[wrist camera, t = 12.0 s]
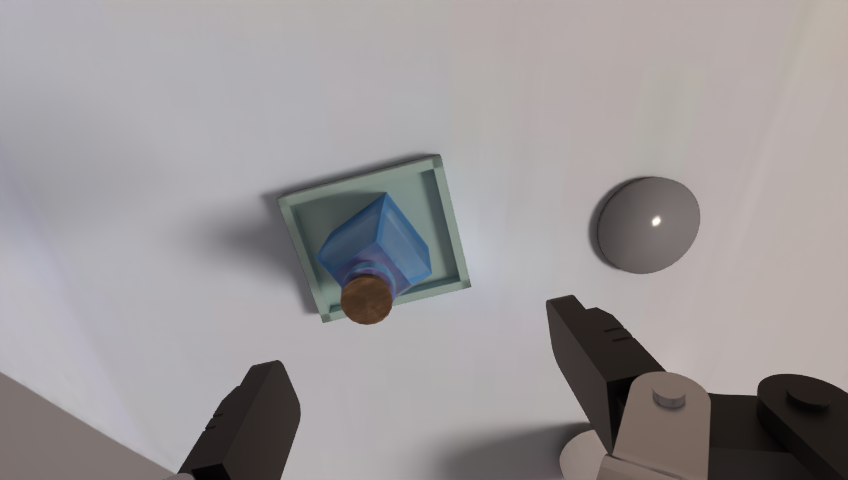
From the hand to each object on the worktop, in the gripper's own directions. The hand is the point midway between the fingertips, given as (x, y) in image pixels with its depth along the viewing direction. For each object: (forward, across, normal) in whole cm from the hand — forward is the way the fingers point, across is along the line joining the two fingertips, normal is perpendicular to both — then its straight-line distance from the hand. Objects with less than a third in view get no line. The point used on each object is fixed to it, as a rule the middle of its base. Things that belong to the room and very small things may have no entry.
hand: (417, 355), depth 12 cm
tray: (+24, +4, +4) cm, 25 cm away
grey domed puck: (+24, -20, +9) cm, 33 cm away
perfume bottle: (+24, +4, +4) cm, 24 cm away
